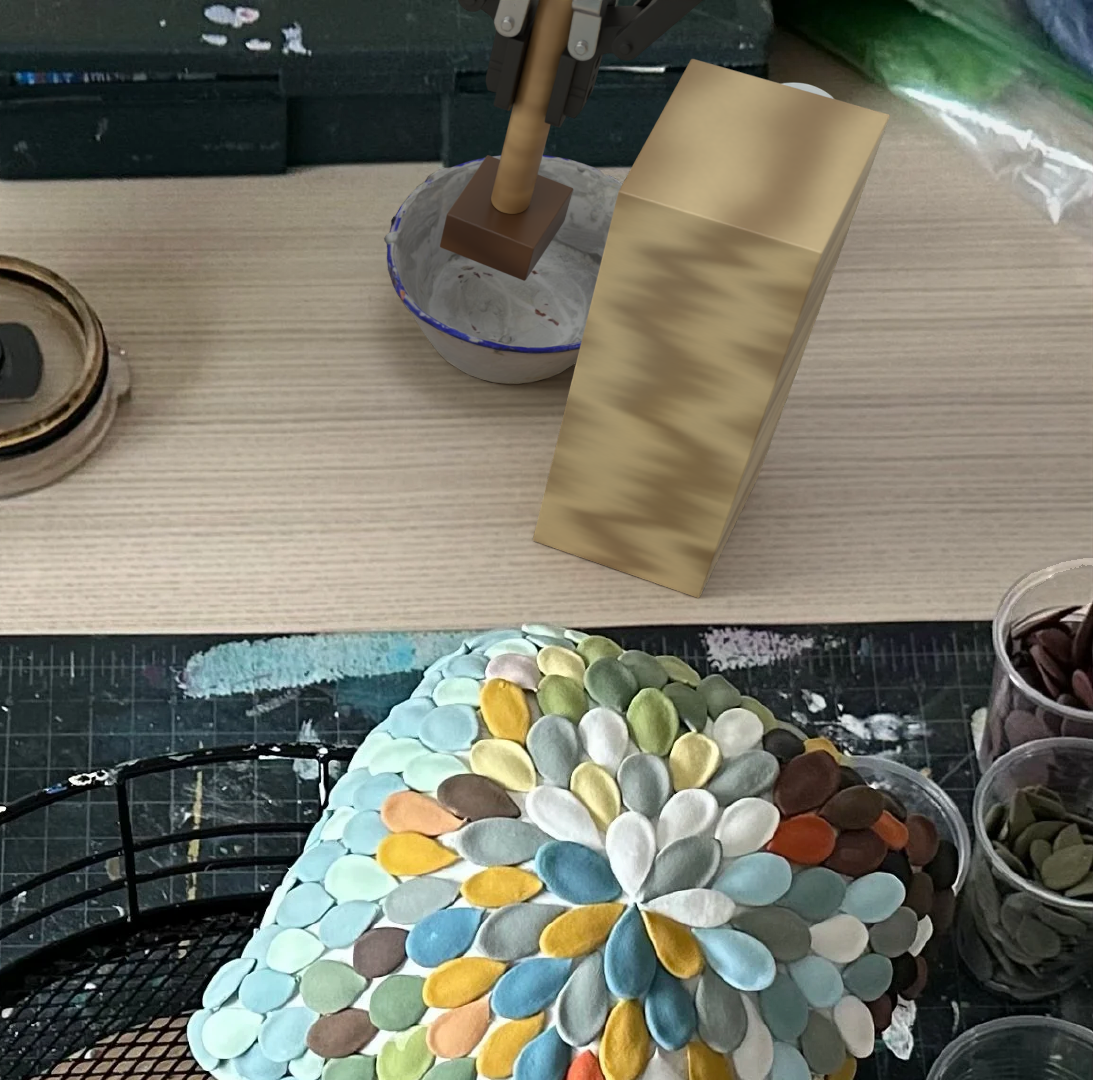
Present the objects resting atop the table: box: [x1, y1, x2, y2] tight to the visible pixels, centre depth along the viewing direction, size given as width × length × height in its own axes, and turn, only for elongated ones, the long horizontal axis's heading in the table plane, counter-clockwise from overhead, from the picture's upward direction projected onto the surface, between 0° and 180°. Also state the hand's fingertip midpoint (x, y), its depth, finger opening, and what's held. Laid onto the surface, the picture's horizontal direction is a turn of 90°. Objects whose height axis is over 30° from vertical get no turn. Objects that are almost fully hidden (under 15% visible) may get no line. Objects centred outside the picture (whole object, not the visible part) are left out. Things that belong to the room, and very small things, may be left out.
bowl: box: [383, 154, 623, 385], centre depth 109 cm, size 13×13×5 cm
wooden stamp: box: [440, 0, 574, 281], centre depth 101 cm, size 4×4×14 cm
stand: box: [532, 58, 891, 599], centre depth 97 cm, size 8×8×20 cm
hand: (533, 103), depth 100 cm, fingers closed on wooden stamp, 2 cm apart
